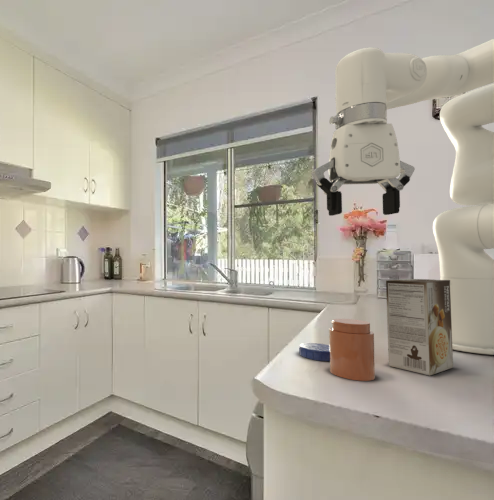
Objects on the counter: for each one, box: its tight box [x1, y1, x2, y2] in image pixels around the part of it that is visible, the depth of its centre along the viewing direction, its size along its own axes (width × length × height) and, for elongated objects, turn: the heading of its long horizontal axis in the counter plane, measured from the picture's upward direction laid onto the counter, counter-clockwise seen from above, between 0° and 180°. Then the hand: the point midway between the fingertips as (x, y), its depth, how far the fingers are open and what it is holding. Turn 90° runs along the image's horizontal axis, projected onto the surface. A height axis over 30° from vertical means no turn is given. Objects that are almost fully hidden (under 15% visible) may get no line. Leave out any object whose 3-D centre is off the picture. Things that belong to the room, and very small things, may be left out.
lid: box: [298, 342, 330, 362], centre depth 69 cm, size 7×7×2 cm
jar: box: [328, 318, 376, 382], centre depth 58 cm, size 6×6×9 cm
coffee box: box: [385, 278, 454, 376], centre depth 62 cm, size 9×6×16 cm
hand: (362, 214), depth 61 cm, fingers open, 9 cm apart
